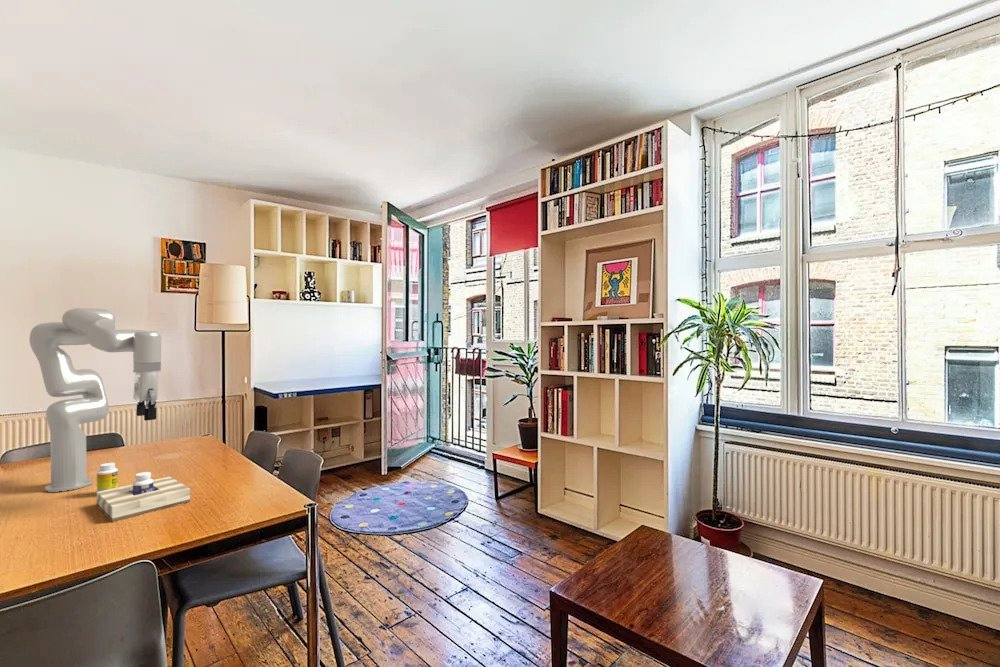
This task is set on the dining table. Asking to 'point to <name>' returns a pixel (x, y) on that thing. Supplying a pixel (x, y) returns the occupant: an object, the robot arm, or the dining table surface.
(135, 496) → the socket block
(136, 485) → the pill bottle
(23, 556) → the dining table surface
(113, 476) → the supplement bottle
